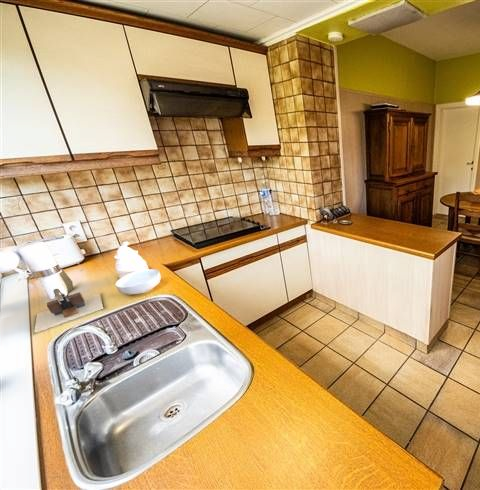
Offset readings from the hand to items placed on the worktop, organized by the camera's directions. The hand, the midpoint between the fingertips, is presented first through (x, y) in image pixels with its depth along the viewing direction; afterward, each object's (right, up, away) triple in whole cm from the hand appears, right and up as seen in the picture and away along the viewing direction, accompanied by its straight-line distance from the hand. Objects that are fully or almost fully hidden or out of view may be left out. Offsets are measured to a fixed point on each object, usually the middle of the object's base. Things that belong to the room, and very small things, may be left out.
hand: (69, 307), depth 115 cm
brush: (0, -1, 0) cm, 1 cm away
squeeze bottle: (-21, +4, +16) cm, 27 cm away
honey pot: (+1, +12, +31) cm, 33 cm away
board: (+1, -2, 0) cm, 2 cm away
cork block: (+4, -2, -3) cm, 5 cm away
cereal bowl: (+20, +5, +15) cm, 25 cm away
